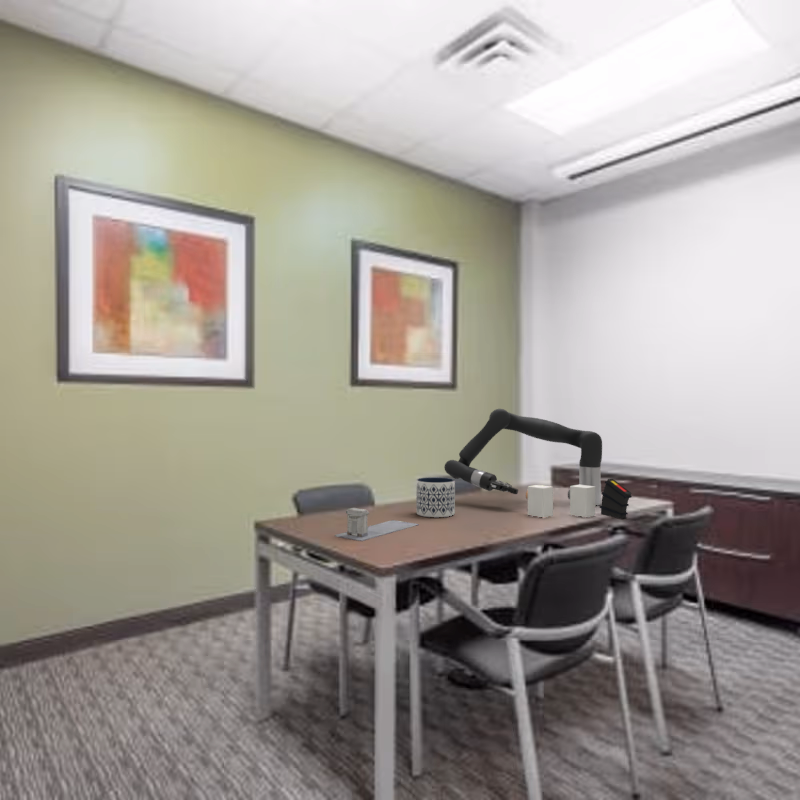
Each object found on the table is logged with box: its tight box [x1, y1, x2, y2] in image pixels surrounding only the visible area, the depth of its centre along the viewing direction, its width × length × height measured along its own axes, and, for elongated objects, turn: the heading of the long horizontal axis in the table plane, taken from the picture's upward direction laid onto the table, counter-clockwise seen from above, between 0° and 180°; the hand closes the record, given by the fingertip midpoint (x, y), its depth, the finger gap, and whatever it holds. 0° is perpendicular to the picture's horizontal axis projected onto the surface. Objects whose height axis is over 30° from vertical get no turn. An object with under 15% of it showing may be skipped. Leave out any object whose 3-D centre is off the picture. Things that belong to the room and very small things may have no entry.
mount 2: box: [569, 484, 596, 518], centre depth 246 cm, size 7×8×12 cm
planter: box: [415, 476, 456, 519], centre depth 247 cm, size 16×16×14 cm
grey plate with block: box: [334, 507, 419, 542], centre depth 217 cm, size 12×33×10 cm, turn 143°
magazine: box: [599, 478, 632, 519], centre depth 244 cm, size 4×13×15 cm, turn 29°
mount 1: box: [527, 484, 554, 518], centre depth 244 cm, size 7×8×12 cm
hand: (517, 492), depth 254 cm, fingers closed
